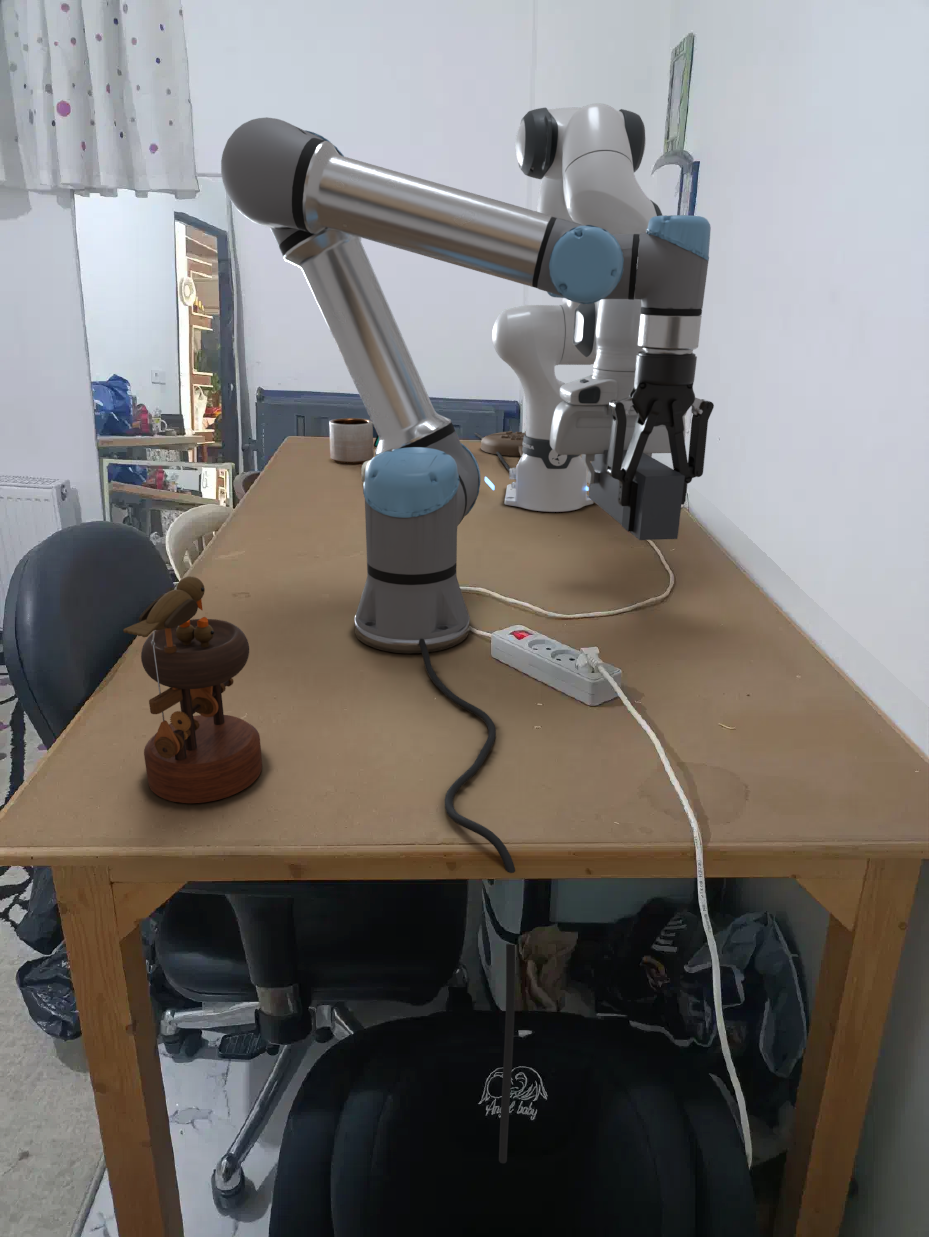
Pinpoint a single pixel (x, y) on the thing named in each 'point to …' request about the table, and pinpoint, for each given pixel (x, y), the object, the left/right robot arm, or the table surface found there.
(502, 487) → the table surface
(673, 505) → the bar
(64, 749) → the table surface
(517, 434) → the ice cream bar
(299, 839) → the table surface
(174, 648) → the music box
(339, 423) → the planter
